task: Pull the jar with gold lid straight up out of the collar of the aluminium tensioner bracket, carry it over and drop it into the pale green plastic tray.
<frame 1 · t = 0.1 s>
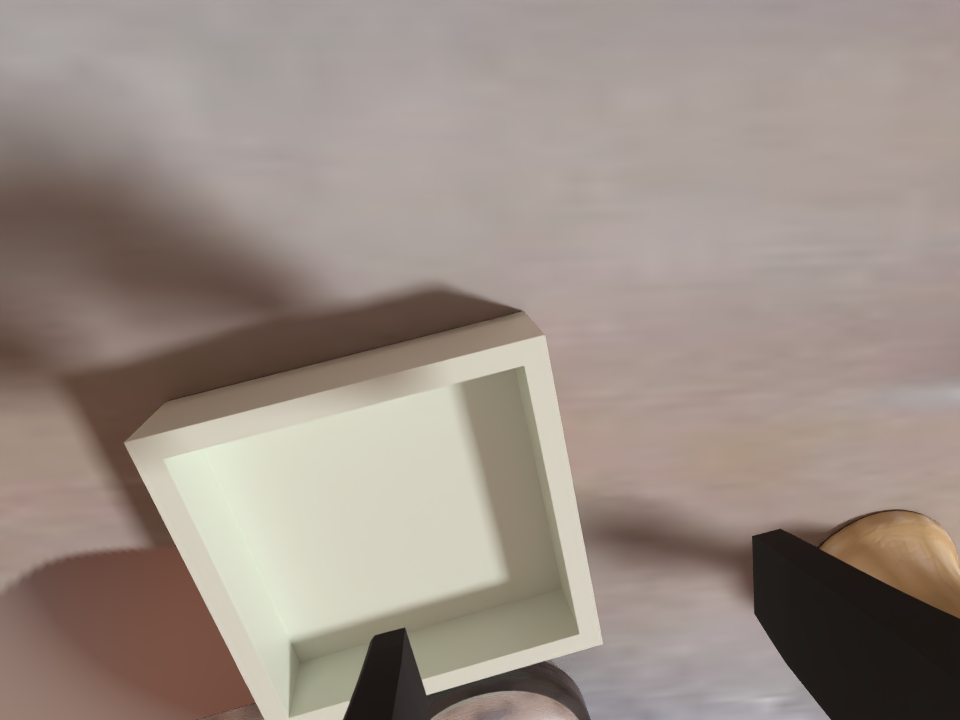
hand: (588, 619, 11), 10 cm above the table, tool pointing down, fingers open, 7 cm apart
parts tray: (396, 505, 21), on the table
hand bell: (866, 581, 26), on the table
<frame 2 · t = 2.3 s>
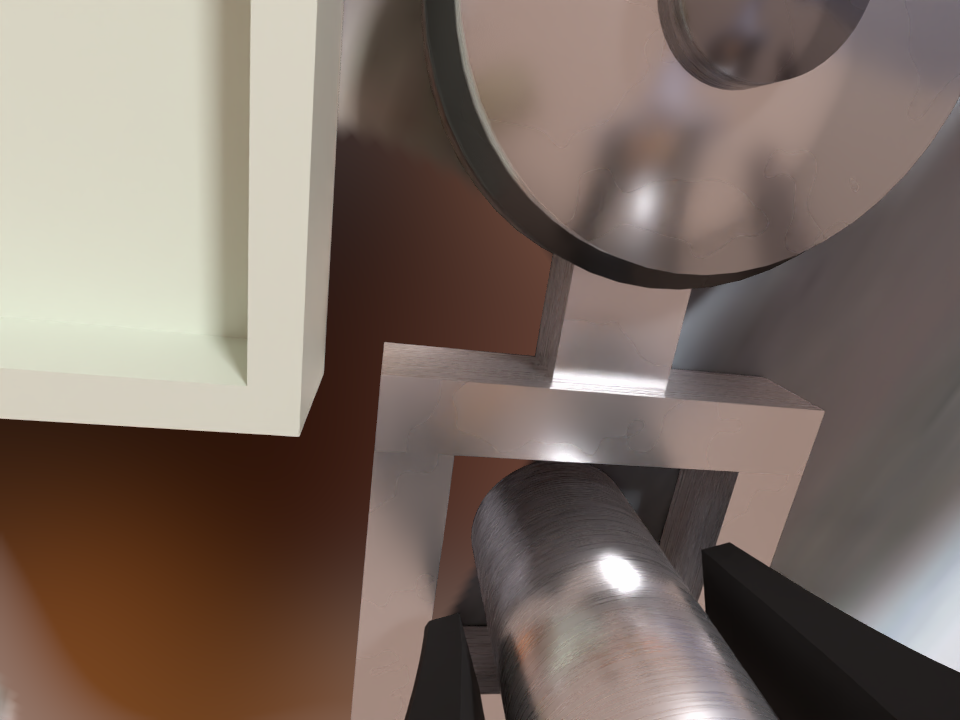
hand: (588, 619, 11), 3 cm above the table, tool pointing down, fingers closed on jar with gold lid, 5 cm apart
tensioner bracket: (551, 530, 14), on the table
jar with gold lid: (550, 530, 14), resting in tensioner bracket, touching gripper
when the fingers open (5 cm above the table, at t = 7.3 s): jar with gold lid drops 1 cm, resting on parts tray.
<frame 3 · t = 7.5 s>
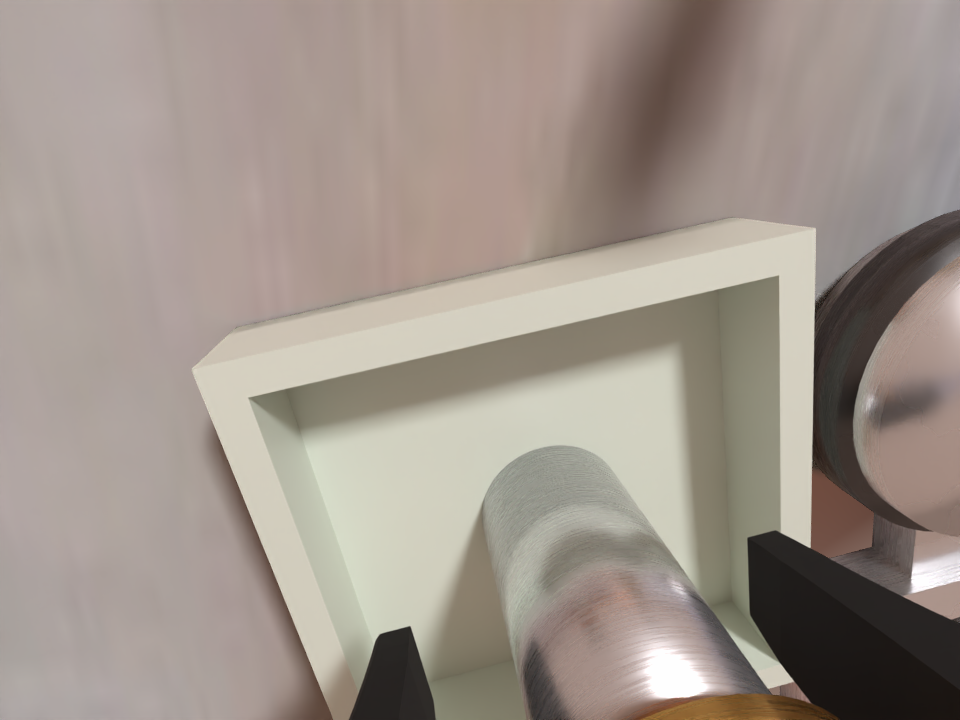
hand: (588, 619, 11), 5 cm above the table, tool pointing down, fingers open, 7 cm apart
tensioner bracket: (896, 638, 20), on the table
parts tray: (532, 485, 16), on the table
jar with gold lid: (552, 509, 15), point 1 cm above the table, touching parts tray
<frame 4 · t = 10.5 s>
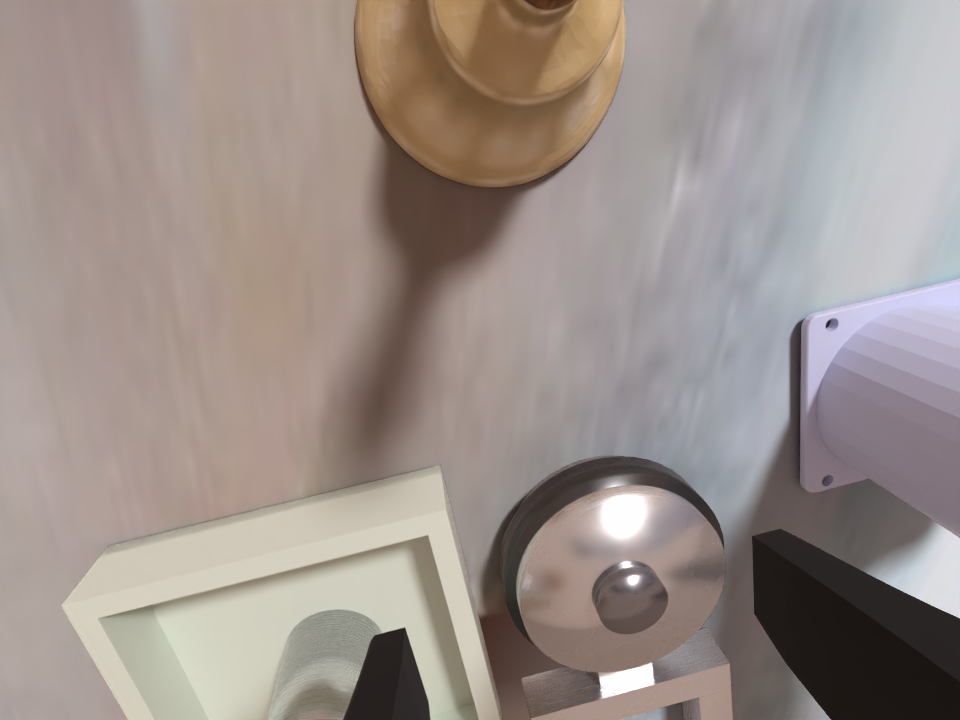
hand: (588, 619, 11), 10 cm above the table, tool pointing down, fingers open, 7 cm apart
parts tray: (325, 630, 23), on the table
hand bell: (491, 47, 17), on the table
jar with gold lid: (335, 648, 23), point 1 cm above the table, touching parts tray
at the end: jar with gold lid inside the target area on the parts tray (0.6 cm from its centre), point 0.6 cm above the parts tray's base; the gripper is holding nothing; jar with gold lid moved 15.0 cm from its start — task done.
